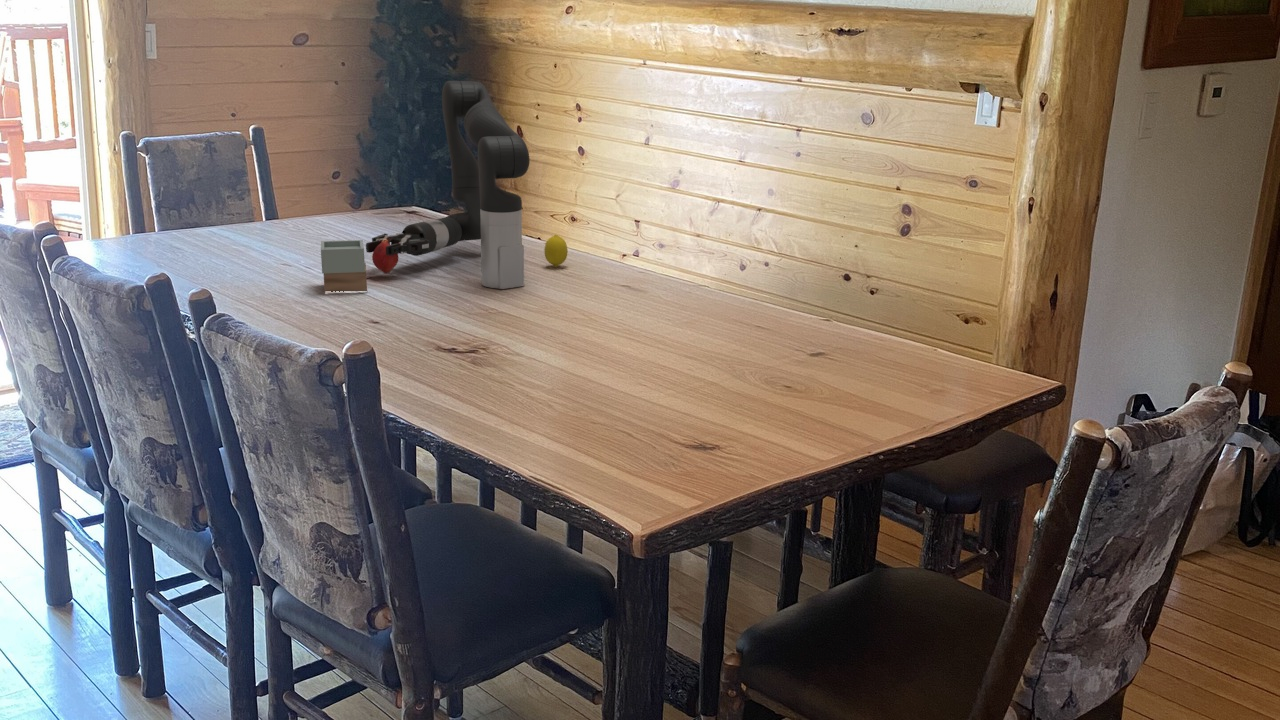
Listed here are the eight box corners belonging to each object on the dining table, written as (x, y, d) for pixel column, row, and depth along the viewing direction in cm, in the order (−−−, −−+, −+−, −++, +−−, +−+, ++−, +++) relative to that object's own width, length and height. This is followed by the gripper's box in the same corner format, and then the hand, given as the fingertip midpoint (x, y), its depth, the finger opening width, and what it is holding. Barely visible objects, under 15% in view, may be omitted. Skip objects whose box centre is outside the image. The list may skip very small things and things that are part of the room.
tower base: (367, 294, 254) (366, 271, 253) (324, 295, 252) (323, 273, 251) (366, 284, 263) (365, 262, 261) (325, 285, 260) (324, 263, 259)
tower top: (365, 272, 252) (363, 248, 251) (322, 273, 250) (320, 249, 249) (363, 262, 261) (362, 240, 259) (322, 264, 259) (320, 241, 257)
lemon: (569, 265, 284) (569, 233, 282) (565, 270, 279) (565, 237, 277) (546, 264, 285) (546, 232, 283) (542, 269, 280) (542, 236, 277)
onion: (384, 277, 264) (382, 242, 261) (368, 273, 267) (365, 239, 265) (404, 272, 268) (402, 238, 266) (387, 269, 272) (385, 235, 269)
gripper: (401, 218, 280) (352, 229, 266) (448, 224, 273) (400, 236, 259) (403, 249, 282) (354, 262, 268) (449, 256, 276) (402, 269, 261)
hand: (377, 249), depth 264 cm, fingers closed on onion, 5 cm apart
